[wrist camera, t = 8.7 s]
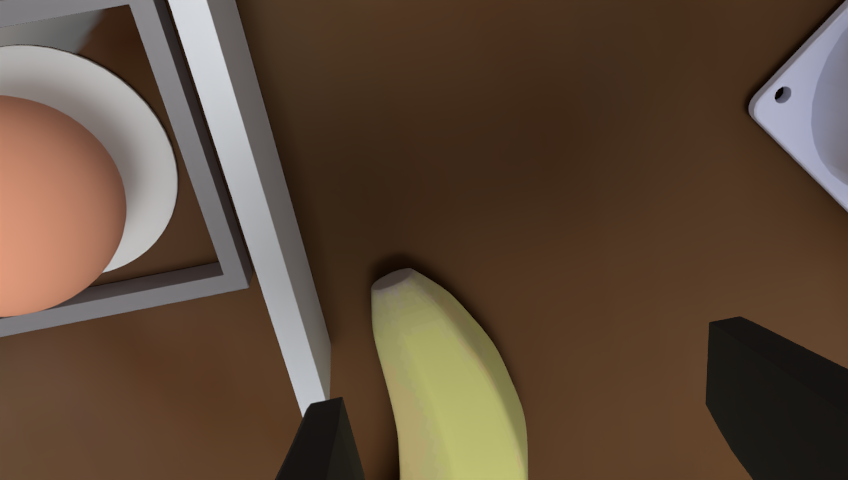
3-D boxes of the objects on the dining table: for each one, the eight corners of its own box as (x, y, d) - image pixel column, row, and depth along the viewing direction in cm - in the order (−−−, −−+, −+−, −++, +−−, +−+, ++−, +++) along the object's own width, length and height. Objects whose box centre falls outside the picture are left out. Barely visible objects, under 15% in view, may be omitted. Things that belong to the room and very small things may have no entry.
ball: (-5, 31, 17) (-144, 74, 12) (185, 150, 19) (131, 229, 14) (-89, 189, 19) (-244, 284, 14) (95, 285, 20) (17, 399, 16)
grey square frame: (155, -29, 17) (144, -26, 16) (252, 272, 21) (248, 287, 20) (-199, 36, 17) (-229, 42, 16) (-30, 327, 21) (-47, 346, 20)
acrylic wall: (147, -190, 16) (97, -219, 12) (180, -196, 16) (139, -226, 12) (308, 349, 23) (302, 417, 20) (331, 344, 23) (329, 411, 20)
